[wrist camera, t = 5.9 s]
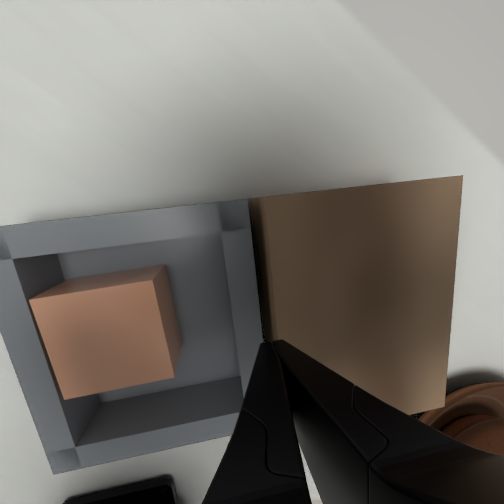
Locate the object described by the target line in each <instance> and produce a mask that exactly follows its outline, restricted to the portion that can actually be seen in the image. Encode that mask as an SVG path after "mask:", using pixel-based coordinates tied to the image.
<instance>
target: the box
mask: <svg viewBox="0 0 504 504" xmlns="http://www.w3.org/2000/svg"><path fill="white" fill-rule="evenodd" d="M163 264H165V265H166V269H167V274H168V279H169V283H170V288H171V293H172V298H173V302H174V307H175V312H176V317H177V321H178V326H179V331H180V335H181V340H182V348H181V352H180V357H179V361H178V365H177V369H176V373H175V377H174V378H169V379H164V380H159V381H154V382H149V383H145V384H140V385H135V386H130V387H125V388H120V389H115V390H110V391H106V392H101V393H96V394H91V395H86V396H81V397H76V398H71V399H67V400H64V398H63V395H62V392H61V390H60V387H59V384H58V381H57V378H56V376H55V373H54V370H53V367H52V364H51V361H50V359H49V356H48V353H47V350H46V347H45V344H44V342H43V339H42V336H41V333H40V330H39V327H38V325H37V322H36V319H35V316H34V313H33V310H32V308H31V305H30V302H29V299H31V298H33V297H35V296H37V295H39V294H41V293H43V292H45V291H47V290H48V289H50V288H52V287H54V286H56V285H58V284H60V283H62V282H64V281H66V280H68V279H72V278H79V277H85V276H92V275H98V274H105V273H111V272H118V271H124V270H131V269H137V268H144V267H150V266H157V265H163ZM0 332H1V334H2V337H3V340H4V342H5V345H6V348H7V350H8V353H9V356H10V359H11V361H12V364H13V367H14V369H15V372H16V375H17V377H18V380H19V383H20V386H21V388H22V391H23V394H24V396H25V399H26V402H27V404H28V407H29V410H30V413H31V415H32V418H33V421H34V423H35V426H36V429H37V431H38V434H39V437H40V439H41V442H42V445H43V448H44V450H45V453H46V456H47V458H48V461H49V464H50V466H51V469H52V472H53V475H54V474H59V473H63V472H68V471H72V470H77V469H81V468H86V467H90V466H95V465H99V464H104V463H108V462H113V461H117V460H122V459H126V458H131V457H135V456H140V455H144V454H149V453H153V452H158V451H162V450H166V449H171V448H175V447H180V446H184V445H189V444H193V443H198V442H202V441H207V440H211V439H216V438H220V437H225V436H229V435H232V434H233V431H234V428H235V425H236V422H237V419H238V416H239V412H240V410H241V406H242V403H243V399H244V396H245V393H246V389H247V386H248V382H249V379H250V376H251V372H252V369H253V366H254V362H255V359H256V356H257V352H258V349H259V346H260V343H263V336H262V327H261V318H260V309H259V300H258V290H257V281H256V272H255V263H254V254H253V244H252V235H251V226H250V217H249V207H248V199H242V200H232V201H223V202H214V203H205V204H196V205H187V206H178V207H169V208H160V209H151V210H142V211H133V212H124V213H114V214H105V215H96V216H87V217H78V218H69V219H60V220H51V221H42V222H33V223H24V224H15V225H6V226H0Z"/></svg>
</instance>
